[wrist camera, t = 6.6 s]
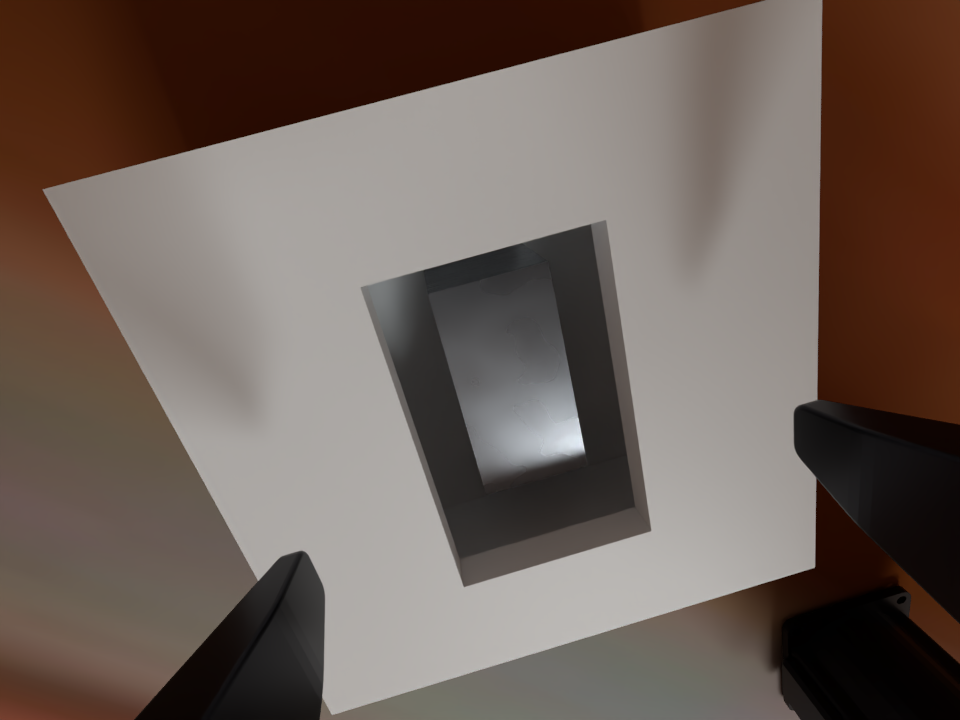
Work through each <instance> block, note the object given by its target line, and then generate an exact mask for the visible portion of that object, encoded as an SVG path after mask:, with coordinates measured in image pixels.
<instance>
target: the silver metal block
mask: <svg viewBox="0 0 960 720" xmlns="http://www.w3.org/2000/svg"><path fill="white" fill-rule="evenodd" d="M424 275H425V281H426V287H427V293H428V297H429V301H430V304H431V307H432V311H433V314H434V318H435V321H436V325H437V328H438V331H439V335H440V338H441V342H442V345H443V349H444V352H445V355H446V359H447V362H448V366H449V369H450V373H451V376H452V379H453V383H454V386H455V390H456V393H457V397H458V400H459V403H460V407H461V410H462V414H463V417H464V421H465V424H466V428H467V431H468V434H469V438H470V441H471V445H472V448H473V452H474V455H475V458H476V462H477V465H478V469H479V472H480V476H481V479H482V482H483V486H484V489H485V493H486V495H487V494H491V493H494V492H498V491H501V490H505V489H508V488H512V487H515V486H518V485H522V484H525V483H529V482H532V481H536V480H539V479H543V478H546V477H549V476H553V475H556V474H560V473H563V472H567V471H570V470H574V469H577V468H580V467H584V466H587V460H586V455H585V450H584V444H583V439H582V434H581V429H580V424H579V418H578V413H577V408H576V403H575V397H574V392H573V387H572V382H571V377H570V371H569V366H568V361H567V356H566V350H565V345H564V340H563V335H562V330H561V324H560V319H559V314H558V309H557V304H556V298H555V293H554V288H553V283H552V277H551V272H550V267H549V262H548V261H547V260H546V259H544V258H543V257H541V256H540V255H538V254H537V253H536V252H534V251H533V250H531V249H530V248H528V247H527V246H525V245H524V244H522V243H520V244H516V245H512V246H509V247H505V248H502V249H498V250H494V251H491V252H487V253H483V254H480V255H476V256H472V257H469V258H465V259H462V260H458V261H454V262H451V263H447V264H443V265H440V266H436V267H432V268H429V269H425V270H424Z"/></svg>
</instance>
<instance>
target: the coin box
mask: <svg viewBox="0 0 960 720" xmlns="http://www.w3.org/2000/svg"><path fill="white" fill-rule="evenodd" d="M821 59H822V0H765V1H761V2H757V3H754V4H750V5H746V6H742V7H738V8H735V9H731V10H727V11H723V12H719V13H715V14H712V15H708V16H704V17H700V18H696V19H692V20H689V21H685V22H681V23H677V24H673V25H670V26H666V27H662V28H658V29H654V30H650V31H647V32H643V33H639V34H635V35H631V36H628V37H624V38H620V39H616V40H612V41H608V42H605V43H601V44H597V45H593V46H589V47H586V48H582V49H578V50H574V51H570V52H566V53H563V54H559V55H555V56H551V57H547V58H543V59H540V60H536V61H532V62H528V63H524V64H521V65H517V66H513V67H509V68H505V69H501V70H498V71H494V72H490V73H486V74H482V75H479V76H475V77H471V78H467V79H463V80H459V81H456V82H452V83H448V84H444V85H440V86H437V87H433V88H429V89H425V90H421V91H417V92H414V93H410V94H406V95H402V96H398V97H394V98H391V99H387V100H383V101H379V102H375V103H372V104H368V105H364V106H360V107H356V108H352V109H349V110H345V111H341V112H337V113H333V114H330V115H326V116H322V117H318V118H314V119H310V120H307V121H303V122H299V123H295V124H291V125H287V126H284V127H280V128H276V129H272V130H268V131H265V132H261V133H257V134H253V135H249V136H245V137H242V138H238V139H234V140H230V141H226V142H223V143H219V144H215V145H211V146H207V147H203V148H200V149H196V150H192V151H188V152H184V153H181V154H177V155H173V156H169V157H165V158H161V159H158V160H154V161H150V162H146V163H142V164H138V165H135V166H131V167H127V168H123V169H119V170H116V171H112V172H108V173H104V174H100V175H96V176H93V177H89V178H85V179H81V180H77V181H74V182H70V183H66V184H62V185H58V186H54V187H51V188H47V189H43V191H44V193H45V195H46V197H47V198H48V200H49V202H50V204H51V206H52V207H53V209H54V211H55V213H56V215H57V217H58V218H59V220H60V222H61V224H62V226H63V227H64V229H65V231H66V233H67V235H68V237H69V238H70V240H71V242H72V244H73V246H74V247H75V249H76V251H77V253H78V255H79V256H80V258H81V260H82V262H83V264H84V266H85V267H86V269H87V271H88V273H89V275H90V276H91V278H92V280H93V282H94V284H95V286H96V287H97V289H98V291H99V293H100V295H101V296H102V298H103V300H104V302H105V304H106V305H107V307H108V309H109V311H110V313H111V315H112V316H113V318H114V320H115V322H116V324H117V325H118V327H119V329H120V331H121V333H122V335H123V336H124V338H125V340H126V342H127V344H128V345H129V347H130V349H131V351H132V353H133V354H134V356H135V358H136V360H137V362H138V364H139V365H140V367H141V369H142V371H143V373H144V374H145V376H146V378H147V380H148V382H149V384H150V385H151V387H152V389H153V391H154V393H155V394H156V396H157V398H158V400H159V402H160V403H161V405H162V407H163V409H164V411H165V413H166V414H167V416H168V418H169V420H170V422H171V423H172V425H173V427H174V429H175V431H176V433H177V434H178V436H179V438H180V440H181V442H182V443H183V445H184V447H185V449H186V451H187V453H188V454H189V456H190V458H191V460H192V462H193V463H194V465H195V467H196V469H197V471H198V472H199V474H200V476H201V478H202V480H203V482H204V483H205V485H206V487H207V489H208V491H209V492H210V494H211V496H212V498H213V500H214V502H215V503H216V505H217V507H218V509H219V511H220V512H221V514H222V516H223V518H224V520H225V521H226V523H227V525H228V527H229V529H230V531H231V532H232V534H233V536H234V538H235V540H236V541H237V543H238V545H239V547H240V549H241V551H242V552H243V554H244V556H245V558H246V560H247V561H248V563H249V565H250V567H251V569H252V570H253V572H254V574H255V576H256V578H257V580H258V581H259V580H260V579H261V578H262V576H263V575H264V574H265V573H266V572H267V571H268V570H269V569H270V567H271V566H272V565H273V564H274V563H275V562H276V561H277V560H278V559H279V558H280V557H281V556H284V555H287V554H290V553H294V552H297V551H305V552H306V553H307V554H308V555H309V557H310V559H311V561H312V563H313V565H314V567H315V569H316V571H317V573H318V576H319V578H320V580H321V582H322V584H323V587H324V591H325V639H324V681H323V694H322V698H323V699H324V701H325V703H326V705H327V707H328V708H329V710H330V712H331V714H332V715H334V714H337V713H340V712H344V711H347V710H350V709H353V708H357V707H360V706H363V705H367V704H370V703H373V702H376V701H380V700H383V699H386V698H389V697H393V696H396V695H399V694H403V693H406V692H409V691H412V690H416V689H419V688H422V687H426V686H429V685H432V684H435V683H439V682H442V681H445V680H448V679H452V678H455V677H458V676H462V675H465V674H468V673H471V672H475V671H478V670H481V669H485V668H488V667H491V666H494V665H498V664H501V663H504V662H507V661H511V660H514V659H517V658H521V657H524V656H527V655H530V654H534V653H537V652H540V651H544V650H547V649H550V648H553V647H557V646H560V645H563V644H566V643H570V642H573V641H576V640H580V639H583V638H586V637H589V636H593V635H596V634H599V633H603V632H606V631H609V630H612V629H616V628H619V627H622V626H625V625H629V624H632V623H635V622H639V621H642V620H645V619H648V618H652V617H655V616H658V615H662V614H665V613H668V612H671V611H675V610H678V609H681V608H684V607H688V606H691V605H694V604H698V603H701V602H704V601H707V600H711V599H714V598H717V597H721V596H724V595H727V594H730V593H734V592H737V591H740V590H743V589H747V588H750V587H753V586H757V585H760V584H763V583H766V582H770V581H773V580H776V579H780V578H783V577H786V576H789V575H793V574H796V573H799V572H802V571H806V570H809V569H812V568H815V534H816V477H815V476H814V474H813V473H812V472H811V471H810V470H809V469H808V467H807V466H806V465H805V464H804V463H803V462H802V461H801V459H800V458H799V457H798V455H797V453H796V451H795V448H794V423H793V414H794V410H795V408H796V407H797V406H798V405H801V404H805V403H808V402H811V401H815V400H817V376H818V297H819V217H820V138H821ZM520 243H522V244H524V245H525V246H527V247H528V248H530V249H531V250H533V251H534V252H536V253H537V254H538V255H540V256H541V257H543V258H544V259H546V260H547V261H548V262H549V267H550V272H551V277H552V283H553V288H554V293H555V298H556V304H557V309H558V314H559V319H560V324H561V330H562V335H563V340H564V345H565V350H566V356H567V361H568V366H569V371H570V377H571V382H572V387H573V392H574V397H575V403H576V408H577V413H578V418H579V424H580V429H581V434H582V439H583V444H584V450H585V455H586V460H587V466H584V467H580V468H577V469H574V470H570V471H567V472H563V473H560V474H556V475H553V476H549V477H546V478H543V479H539V480H536V481H532V482H529V483H525V484H522V485H518V486H515V487H512V488H508V489H505V490H501V491H498V492H494V493H491V494H487V495H486V493H485V489H484V486H483V482H482V479H481V476H480V472H479V469H478V465H477V462H476V458H475V455H474V452H473V448H472V445H471V441H470V438H469V434H468V431H467V428H466V424H465V421H464V417H463V414H462V410H461V407H460V403H459V400H458V397H457V393H456V390H455V386H454V383H453V379H452V376H451V373H450V369H449V366H448V362H447V359H446V355H445V352H444V349H443V345H442V342H441V338H440V335H439V331H438V328H437V325H436V321H435V318H434V314H433V311H432V307H431V304H430V301H429V297H428V293H427V287H426V281H425V275H424V270H425V269H429V268H432V267H436V266H440V265H443V264H447V263H451V262H454V261H458V260H462V259H465V258H469V257H472V256H476V255H480V254H483V253H487V252H491V251H494V250H498V249H502V248H505V247H509V246H512V245H516V244H520Z"/></svg>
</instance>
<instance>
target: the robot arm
mask: <svg viewBox="0 0 960 720" xmlns="http://www.w3.org/2000/svg"><path fill="white" fill-rule="evenodd" d="M793 423H794V448H795V451H796V453H797V455H798V457H799V458H800V459H801V461H802V462H803V463H804V464H805V465H806V466H807V467H808V469H809V470H810V471H811V472H812V473H813V474H814V476H815V477H816V478H817V479H818V480H819V481H820V483H821V484H822V485H823V486H824V487H825V488H826V490H827V491H828V492H829V493H830V494H831V495H832V497H833V498H834V499H835V500H836V501H837V502H838V504H839V505H840V506H841V507H842V508H843V509H844V511H845V512H846V513H847V514H848V515H849V516H850V517H851V518H852V520H853V521H854V522H855V523H856V524H857V525H858V526H859V527H860V528H861V529H862V530H863V531H864V532H865V533H866V534H867V535H868V536H869V537H870V538H871V539H872V540H873V541H874V542H875V543H876V544H877V545H878V546H879V547H880V548H881V549H882V550H883V551H884V552H885V553H887V554H888V555H889V556H890V557H891V558H892V559H893V560H894V561H895V562H896V563H897V564H898V565H899V566H900V567H901V568H902V569H903V570H904V571H905V572H906V573H907V574H908V575H909V576H910V577H911V578H913V579H914V580H915V581H916V582H917V583H918V584H919V585H920V586H921V587H922V588H923V589H924V590H925V591H926V592H927V593H928V594H929V595H930V596H931V597H932V598H933V599H934V600H935V601H936V602H937V603H938V604H940V605H941V606H942V607H943V608H944V609H945V610H946V611H947V612H948V613H949V614H950V615H951V616H952V617H953V618H954V619H955V620H956V621H957V622H958V623H959V624H960V425H958V424H953V423H947V422H942V421H936V420H930V419H925V418H919V417H914V416H908V415H903V414H897V413H891V412H886V411H880V410H875V409H869V408H864V407H858V406H853V405H847V404H841V403H836V402H830V401H825V400H815V401H811V402H808V403H805V404H801V405H798V406H797V407H796V408H795V410H794V414H793ZM910 602H911V595H910V594H909V593H908V592H907V591H906V590H905V589H904V588H903V587H901V586H895V587H892V588H889V589H886V590H882V591H879V592H876V593H873V594H869V595H866V596H863V597H860V598H856V599H853V600H850V601H847V602H843V603H840V604H837V605H834V606H830V607H827V608H824V609H821V610H817V611H814V612H811V613H808V614H804V615H801V616H798V617H795V618H791V619H789V620H787V621H786V622H785V623H784V625H783V627H782V645H783V662H782V689H783V695H784V702H785V703H786V705H787V706H788V707H789V709H790V710H794V711H795V712H796V714H797V715H798V716H799V718H800V719H801V720H960V663H958V662H957V661H956V660H955V659H954V658H953V657H952V656H951V655H950V654H948V653H947V652H946V651H945V650H944V649H943V648H942V647H941V646H940V645H938V644H937V643H936V642H935V641H934V640H933V639H932V638H931V637H930V636H928V635H927V634H926V633H925V632H924V631H923V630H922V629H921V628H920V627H918V626H917V625H916V624H915V623H914V622H913V621H912V620H911V619H910V618H909V611H910ZM324 639H325V591H324V587H323V584H322V582H321V580H320V578H319V576H318V573H317V571H316V569H315V567H314V565H313V563H312V561H311V559H310V557H309V555H308V554H307V553H306V552H305V551H297V552H294V553H290V554H287V555H284V556H281V557H280V558H279V559H278V560H277V561H276V562H275V563H274V564H273V565H272V566H271V567H270V569H269V570H268V571H267V572H266V573H265V574H264V575H263V576H262V578H261V579H260V580H259V581H258V582H257V583H256V584H255V585H254V586H253V588H252V589H251V590H250V591H249V592H248V593H247V594H246V595H245V596H244V598H243V599H242V600H241V601H240V602H239V603H238V604H237V605H236V607H235V608H234V609H233V610H232V611H231V612H230V613H229V614H228V615H227V617H226V618H225V619H224V620H223V621H222V622H221V623H220V624H219V626H218V627H217V628H216V629H215V630H214V631H213V632H212V633H211V634H210V636H209V637H208V638H207V639H206V640H205V641H204V642H203V643H202V645H201V646H200V647H199V648H198V649H197V650H196V651H195V652H194V653H193V655H192V656H191V657H190V658H189V659H188V660H187V661H186V662H185V663H184V665H183V666H182V667H181V668H180V669H179V670H178V671H177V672H176V674H175V675H174V676H173V677H172V678H171V679H170V680H169V681H168V682H167V684H166V685H165V686H164V687H163V688H162V689H161V690H160V691H159V692H158V694H157V695H156V696H155V697H154V698H153V699H152V700H151V701H150V703H149V704H148V705H147V706H146V707H145V708H144V709H143V710H142V711H141V713H140V714H139V715H138V716H137V717H136V718H135V719H134V720H320V712H321V704H322V694H323V681H324Z"/></svg>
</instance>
